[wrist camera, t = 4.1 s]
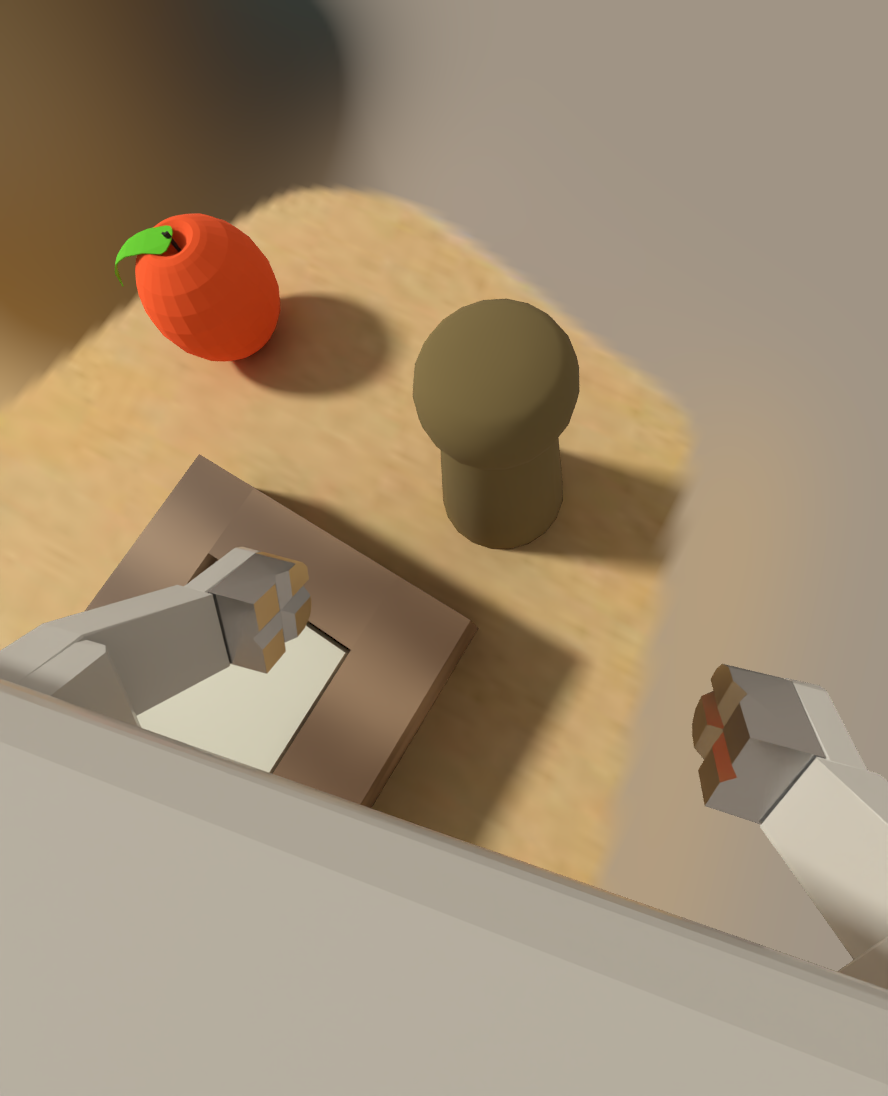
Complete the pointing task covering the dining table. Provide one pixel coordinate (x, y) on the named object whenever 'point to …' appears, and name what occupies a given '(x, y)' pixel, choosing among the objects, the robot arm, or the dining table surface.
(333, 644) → the cream square tile
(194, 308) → the clementine
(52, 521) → the dining table surface
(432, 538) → the dining table surface
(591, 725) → the dining table surface
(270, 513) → the socket block
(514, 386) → the olive pepper mill
